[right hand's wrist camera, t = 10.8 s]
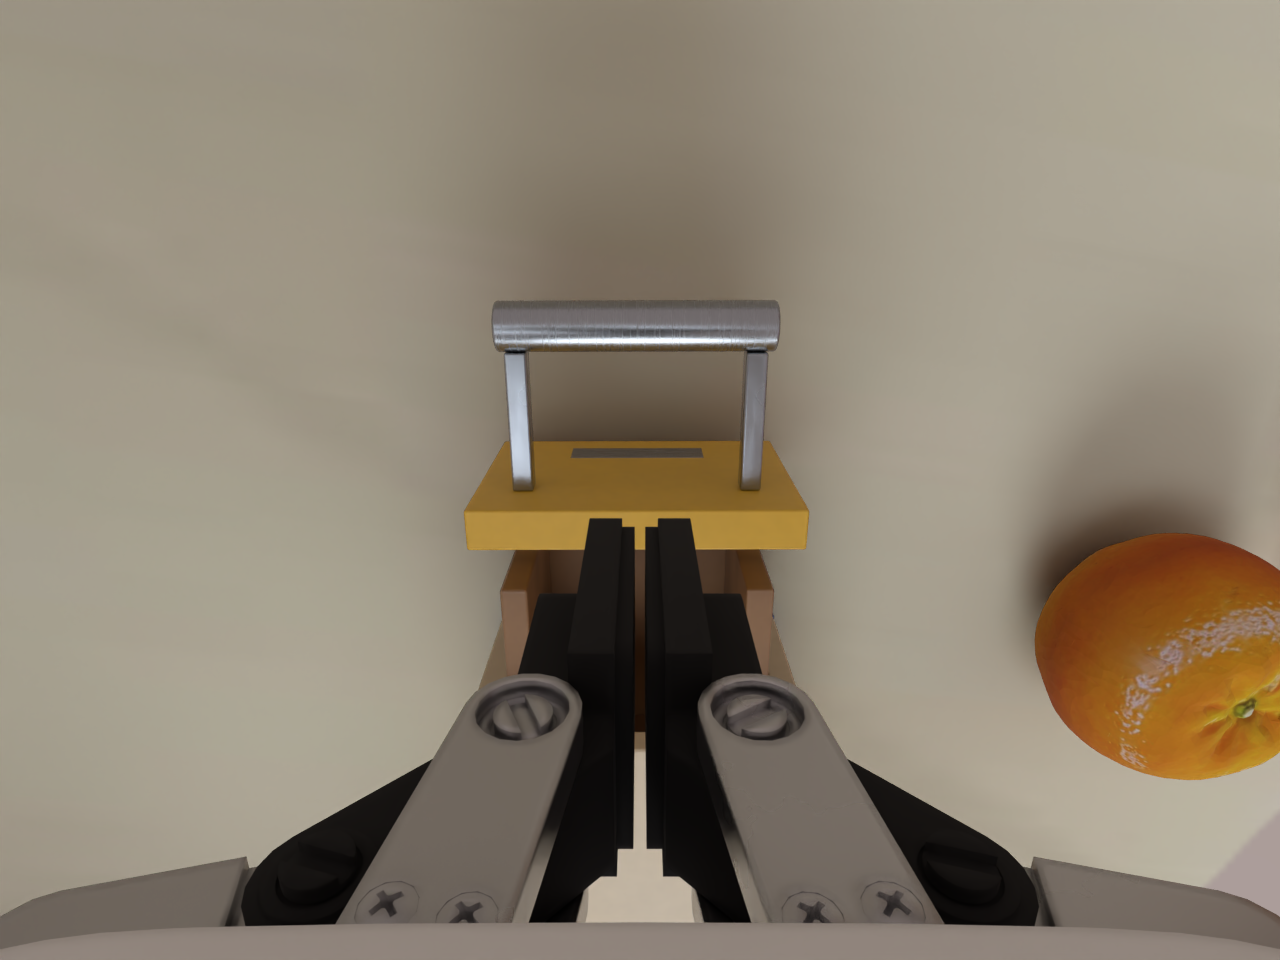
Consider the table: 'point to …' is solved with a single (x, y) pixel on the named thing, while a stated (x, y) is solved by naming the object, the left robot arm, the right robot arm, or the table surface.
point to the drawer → (635, 467)
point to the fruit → (1167, 655)
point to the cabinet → (639, 833)
